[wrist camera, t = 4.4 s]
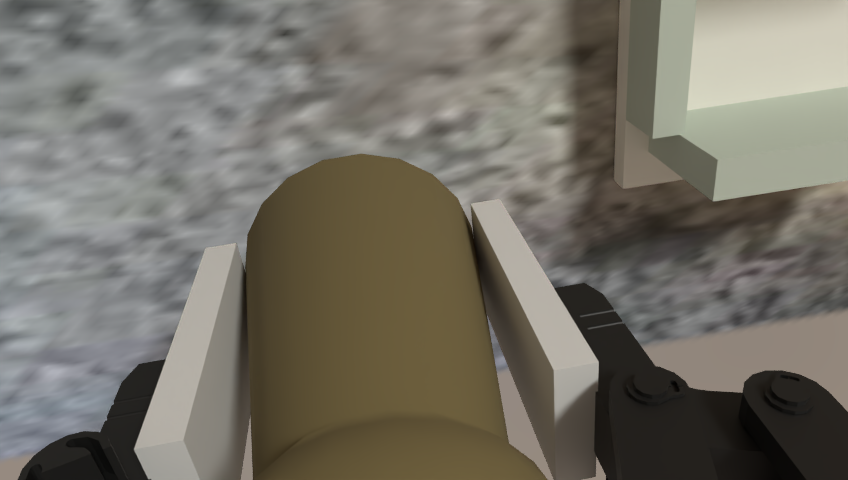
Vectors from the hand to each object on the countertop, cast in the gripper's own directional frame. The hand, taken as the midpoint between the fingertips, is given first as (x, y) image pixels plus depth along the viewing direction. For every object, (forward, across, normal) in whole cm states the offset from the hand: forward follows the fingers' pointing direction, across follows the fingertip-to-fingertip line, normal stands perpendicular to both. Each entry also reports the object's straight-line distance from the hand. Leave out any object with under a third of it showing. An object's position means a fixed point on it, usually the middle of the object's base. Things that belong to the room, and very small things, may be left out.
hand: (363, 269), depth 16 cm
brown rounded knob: (+1, 0, 0) cm, 1 cm away
